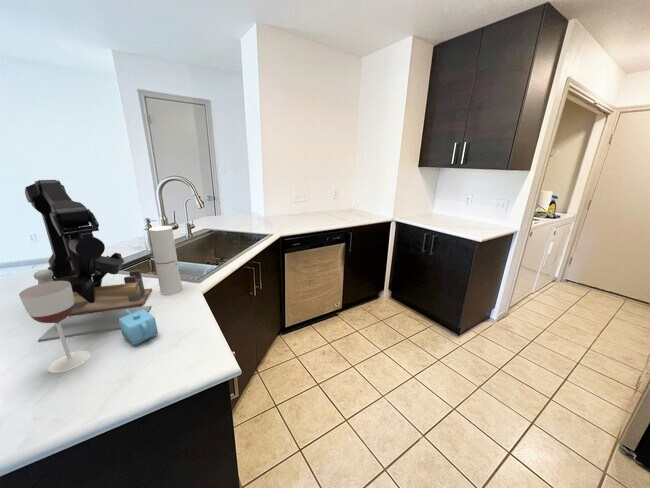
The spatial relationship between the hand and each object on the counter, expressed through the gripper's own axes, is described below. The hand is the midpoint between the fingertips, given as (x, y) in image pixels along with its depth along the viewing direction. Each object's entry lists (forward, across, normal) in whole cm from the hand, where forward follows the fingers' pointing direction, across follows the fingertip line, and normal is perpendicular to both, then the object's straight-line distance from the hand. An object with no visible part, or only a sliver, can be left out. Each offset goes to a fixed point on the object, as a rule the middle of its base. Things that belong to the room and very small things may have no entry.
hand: (95, 300), depth 76 cm
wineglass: (+8, -17, 0) cm, 19 cm away
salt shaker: (+8, +16, +19) cm, 26 cm away
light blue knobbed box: (+8, -11, -13) cm, 19 cm away
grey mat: (+8, 0, 0) cm, 8 cm away
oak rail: (0, 0, 0) cm, 1 cm away
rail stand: (+8, +13, +2) cm, 15 cm away
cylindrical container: (+8, +17, -16) cm, 25 cm away
